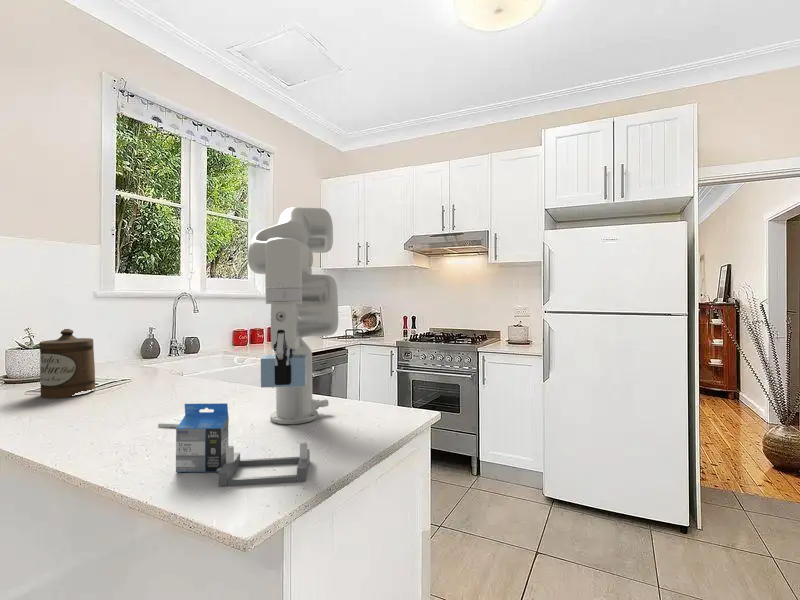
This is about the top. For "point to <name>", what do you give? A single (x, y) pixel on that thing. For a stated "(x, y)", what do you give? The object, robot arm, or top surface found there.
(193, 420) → the label tape box
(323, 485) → the top surface
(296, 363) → the light blue block
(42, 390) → the wooden container
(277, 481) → the dock
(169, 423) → the external hard drive
